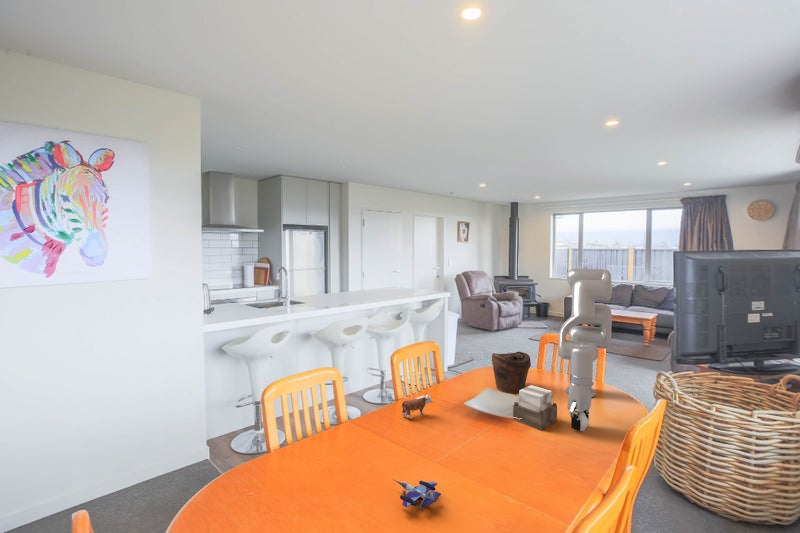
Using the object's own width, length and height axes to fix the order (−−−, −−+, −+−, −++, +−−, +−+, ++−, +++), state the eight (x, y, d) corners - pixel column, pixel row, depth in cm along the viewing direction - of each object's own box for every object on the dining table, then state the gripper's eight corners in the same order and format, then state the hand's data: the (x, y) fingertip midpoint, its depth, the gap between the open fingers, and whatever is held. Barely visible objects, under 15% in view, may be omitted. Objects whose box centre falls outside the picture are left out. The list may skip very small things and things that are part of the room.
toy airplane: (389, 486, 115) (389, 474, 115) (437, 485, 116) (437, 473, 116) (389, 517, 102) (389, 504, 102) (443, 516, 103) (443, 503, 102)
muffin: (572, 424, 155) (572, 406, 154) (589, 427, 152) (590, 409, 151) (569, 430, 149) (570, 412, 149) (587, 434, 146) (588, 415, 146)
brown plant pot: (535, 385, 196) (535, 349, 195) (524, 399, 179) (524, 359, 178) (499, 379, 206) (499, 345, 205) (486, 392, 189) (485, 354, 188)
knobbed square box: (529, 411, 166) (529, 383, 165) (556, 421, 157) (557, 391, 156) (513, 419, 158) (513, 390, 158) (541, 430, 149) (541, 399, 149)
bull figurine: (434, 415, 162) (434, 395, 162) (403, 420, 158) (403, 400, 157) (429, 411, 167) (429, 392, 166) (399, 416, 162) (399, 396, 161)
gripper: (581, 372, 158) (580, 416, 159) (560, 382, 146) (559, 430, 147) (601, 377, 152) (599, 423, 153) (580, 388, 141) (579, 437, 142)
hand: (579, 426), depth 150 cm, fingers closed on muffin, 6 cm apart
